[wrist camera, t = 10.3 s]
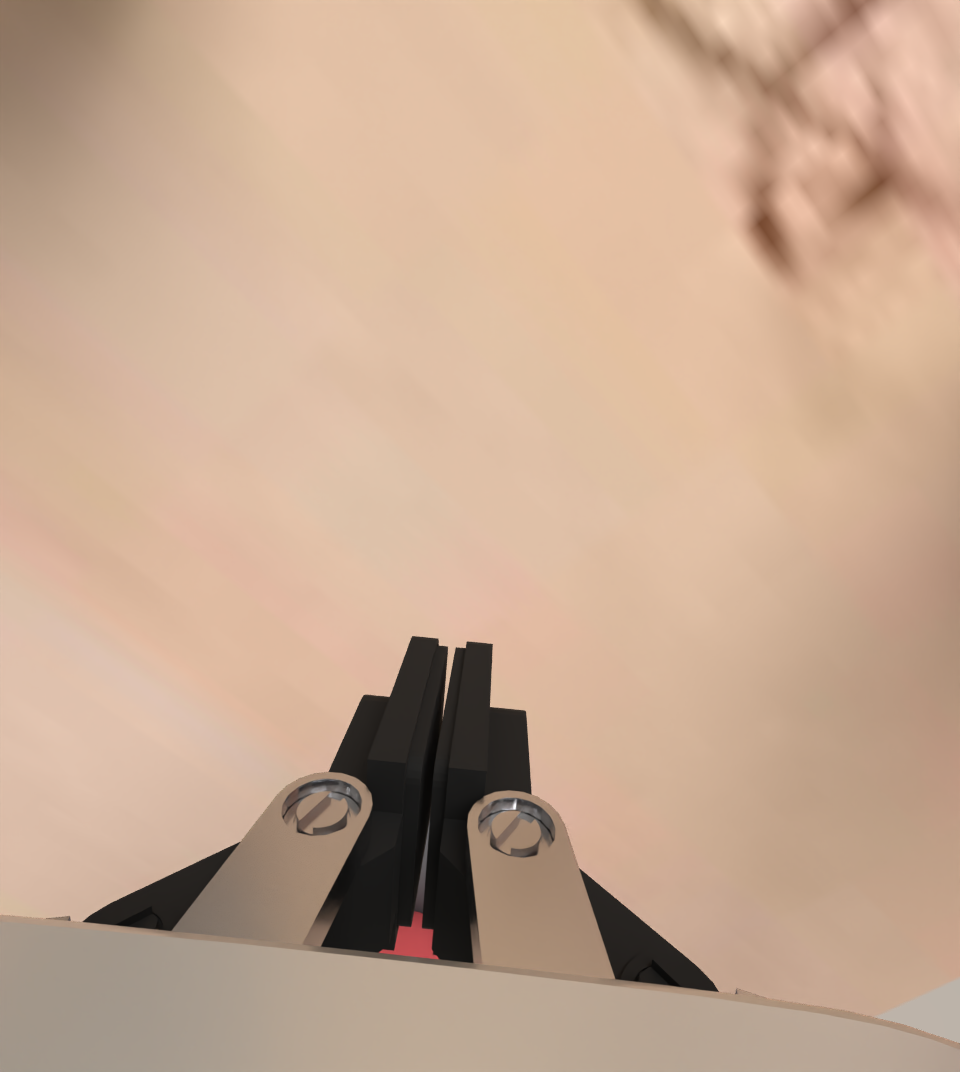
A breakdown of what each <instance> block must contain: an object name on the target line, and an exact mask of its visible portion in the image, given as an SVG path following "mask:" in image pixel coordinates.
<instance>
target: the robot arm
mask: <svg viewBox="0 0 960 1072" xmlns="http://www.w3.org/2000/svg"><path fill="white" fill-rule="evenodd" d="M492 647H493V644H487V643H477V642H467V644H466V648H456V649H455V655H454V660H453V666H452V671H451V677H450V682H449V688H448V693H447V699H446V704H445V710H444V715H443V706H444V693H445V680H446V667H447V655H448V647H446V646H439V640H438V639H436V638H426V637H416V636H412V638H411V641H410V643H409V646H408V649H407V652H406V654H405V657H404V660H403V663H402V665H401V668H400V671H399V674H398V676H397V679H396V682H395V685H394V687H393V690H392V693H391V696H390V697H384V696H374V695H364V696H363V697H362V699H361V701H360V703H359V706H358V708H357V710H356V712H355V714H354V717H353V719H352V721H351V723H350V725H349V728H348V730H347V732H346V734H345V737H344V739H343V741H342V743H341V745H340V748H339V750H338V752H337V754H336V757H335V759H334V761H333V763H332V765H331V768H330V770H329V772H324V773H315V774H311V775H308V776H305V777H302V778H299V779H298V780H296V781H294V782H292V783H291V784H289V785H287V786H286V787H285V788H284V789H283V790H282V791H281V792H280V793H279V794H278V795H277V796H276V797H275V798H274V800H273V801H272V802H271V803H270V805H269V806H268V807H267V809H266V810H265V811H264V812H263V814H262V815H261V816H260V818H259V819H258V820H257V821H256V823H255V824H254V825H253V827H252V828H251V829H250V830H249V832H248V833H247V834H246V836H245V837H244V838H243V839H242V841H241V842H239V843H237V844H235V845H232V846H230V847H228V848H226V849H224V850H222V851H220V852H218V853H216V854H213V855H211V856H209V857H207V858H205V859H203V860H201V861H199V862H197V863H195V864H192V865H190V866H188V867H186V868H184V869H182V870H180V871H178V872H176V873H173V874H171V875H169V876H167V877H165V878H163V879H161V880H159V881H157V882H154V883H152V884H150V885H148V886H146V887H144V888H142V889H140V890H138V891H135V892H133V893H131V894H129V895H127V896H125V897H123V898H121V899H119V900H117V901H114V902H112V903H110V904H109V905H107V906H105V907H103V908H102V909H100V910H98V911H97V912H95V913H93V914H92V915H90V916H89V917H88V918H87V919H85V920H84V921H83V922H75V921H71V920H70V916H66V917H56V918H46V919H43V918H32V917H21V916H11V915H0V1072H960V1043H957V1042H954V1041H951V1040H948V1039H945V1038H942V1037H939V1036H936V1035H933V1034H930V1033H927V1032H924V1031H921V1030H918V1029H915V1028H912V1027H910V1026H907V1025H903V1024H899V1023H895V1022H891V1021H886V1020H883V1019H878V1018H874V1017H870V1016H866V1015H862V1014H858V1013H854V1012H850V1011H844V1010H838V1009H831V1008H825V1007H819V1006H812V1005H806V1004H800V1003H793V1002H787V1001H781V1000H775V999H768V998H765V997H762V996H759V995H756V994H753V993H750V992H747V991H744V990H741V989H738V988H737V989H736V993H735V994H731V993H723V992H719V991H718V990H717V988H716V987H715V985H714V983H713V982H712V981H711V980H710V979H709V978H708V977H707V976H706V975H705V974H704V973H703V972H702V971H701V970H700V969H699V968H698V967H697V966H696V965H695V964H694V963H692V962H691V961H690V960H689V959H688V958H686V957H685V956H684V955H683V954H682V953H680V952H679V951H678V950H677V949H676V948H674V947H673V946H672V945H671V944H670V943H668V942H667V941H666V940H665V939H664V938H662V937H661V936H660V935H659V934H658V933H656V932H655V931H654V930H653V929H652V928H650V927H649V926H648V925H647V924H646V923H644V922H643V921H642V920H641V919H640V918H638V917H637V916H636V915H635V914H634V913H632V912H631V911H630V910H629V909H628V908H626V907H625V906H624V905H623V904H622V903H620V902H619V901H618V900H617V899H616V898H614V897H613V896H612V895H611V894H610V893H608V892H607V891H606V890H605V889H604V888H602V887H601V886H600V885H599V884H598V883H596V882H595V881H594V880H593V879H592V878H590V877H589V876H588V875H587V874H586V873H584V872H583V871H582V870H581V869H580V868H579V867H578V864H577V861H576V858H575V854H574V851H573V848H572V845H571V842H570V839H569V836H568V833H567V830H566V827H565V824H564V822H563V821H562V819H561V817H560V815H559V813H558V812H557V811H556V810H555V809H554V808H553V807H552V806H551V805H550V804H548V803H547V802H545V801H543V800H542V799H540V798H539V797H537V796H534V795H532V794H531V779H530V763H529V748H528V733H527V718H526V711H524V710H514V709H504V708H494V707H490V691H491V669H492ZM442 718H443V720H442ZM429 821H430V825H429ZM428 827H429V838H428V851H427V864H426V877H425V890H424V904H423V917H422V928H423V929H432V930H433V938H432V951H433V955H436V956H437V957H438V958H439V959H440V960H439V959H430V958H421V957H412V956H403V955H394V954H385V953H379V952H380V951H381V950H393V951H394V949H395V944H396V939H397V934H398V929H399V926H404V927H411V926H412V921H413V915H414V909H415V904H416V898H417V892H418V886H419V880H420V874H421V868H422V862H423V857H424V851H425V845H426V839H427V833H428Z"/></svg>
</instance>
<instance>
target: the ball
mask: <svg viewBox="0 0 960 1072" xmlns="http://www.w3.org/2000/svg"><path fill="white" fill-rule="evenodd" d="M422 917H423V913H420V912H416V911H414V915H413V921H412V926H411V927H404V926H399V929H398V934H397V939H396V944H395V949H394V951H393V950H381V951H380V952H379V953H385V954H394V955H403V956H412V957H421V958H430V959H439V958H438V957H437V956H436V955H433V951H432V938H433V930H432V929H423V928H422ZM439 960H440V959H439Z"/></svg>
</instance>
